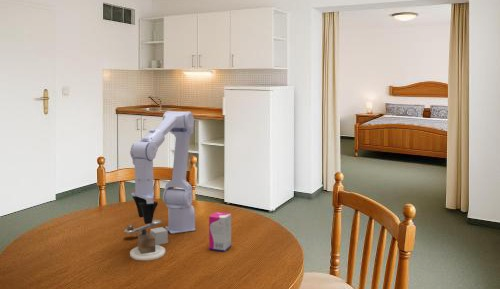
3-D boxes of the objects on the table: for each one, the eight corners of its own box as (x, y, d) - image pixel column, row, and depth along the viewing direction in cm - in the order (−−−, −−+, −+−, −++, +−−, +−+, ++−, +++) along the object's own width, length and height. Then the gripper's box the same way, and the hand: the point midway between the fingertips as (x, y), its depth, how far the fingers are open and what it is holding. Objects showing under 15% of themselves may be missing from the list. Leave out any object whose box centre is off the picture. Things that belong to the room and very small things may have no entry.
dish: (160, 245, 152) (160, 242, 152) (169, 257, 143) (169, 253, 142) (126, 250, 148) (126, 247, 147) (134, 262, 138) (133, 259, 138)
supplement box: (231, 246, 152) (231, 213, 151) (225, 252, 147) (225, 218, 145) (215, 244, 154) (215, 211, 153) (208, 250, 149) (208, 216, 147)
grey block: (162, 239, 159) (161, 227, 158) (167, 243, 155) (167, 230, 155) (150, 241, 156) (149, 229, 156) (155, 245, 153) (155, 232, 152)
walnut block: (152, 247, 148) (151, 233, 147) (155, 251, 144) (155, 238, 143) (138, 249, 146) (137, 235, 145) (141, 254, 142) (140, 240, 141)
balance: (160, 232, 166) (159, 219, 165) (162, 235, 162) (162, 222, 162) (123, 237, 160) (123, 223, 160) (126, 240, 157) (125, 227, 156)
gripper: (126, 175, 149) (128, 215, 151) (136, 184, 136) (138, 228, 138) (148, 173, 152) (149, 212, 154) (159, 182, 139) (160, 225, 141)
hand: (145, 220), depth 146 cm, fingers open, 7 cm apart
